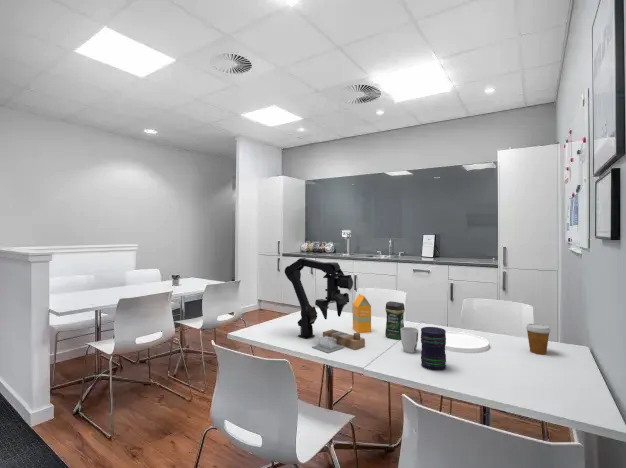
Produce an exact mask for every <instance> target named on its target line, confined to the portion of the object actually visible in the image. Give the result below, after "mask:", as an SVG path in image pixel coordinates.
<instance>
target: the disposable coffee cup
mask: <svg viewBox="0 0 626 468" xmlns="http://www.w3.org/2000/svg"><path fill="white" fill-rule="evenodd" d="M525 329H526V333H527V338H528V339H527V340H528V346H529V347H528V348H529V352H531V353H532V354H535V355H547V350H548V344H549V336H550V333H551V329H550V326H548V325H546V324H541V323H527V324H526V326H525Z"/></svg>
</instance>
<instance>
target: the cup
mask: <svg viewBox="0 0 626 468" xmlns="http://www.w3.org/2000/svg"><path fill="white" fill-rule="evenodd" d="M400 330H401V339H400V340H401V346H402V348H403V351H404V352H405V353H408V354H409V353H410V354H413V353H416V350H417V347H418V342H419V329H418V328H416V327H411V326H406V327H405V326H404V327H403V328H401V329H400Z"/></svg>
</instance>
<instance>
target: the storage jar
mask: <svg viewBox="0 0 626 468" xmlns="http://www.w3.org/2000/svg"><path fill="white" fill-rule="evenodd" d="M446 331H447V330H446V329H444V328H441V327H436V326H424V327H421V328H420V342H421V351H420V360H421V363H420V365H421V367H422V368H423V369H426V370H429V371H432V372H433V371H435V372H439V371H445V370H446V368H447V365H446V363H447V353H446V350H445V345H446V334H445V333H446Z"/></svg>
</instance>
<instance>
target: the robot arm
mask: <svg viewBox="0 0 626 468" xmlns="http://www.w3.org/2000/svg"><path fill="white" fill-rule="evenodd" d="M304 267H306V268H310V269H311V268H312V269H316V270H320V271H321V272H322V273H325V274H324V275H323V277H322V278H323V279H326V288H325V289H324V290H325V292H326V296H324V297H325V299H324V298H317V299H316V300H315V302H314V304H315V306H317V307H318V308H319V310H320V312H321V313H322V317H323V318H324V320H327V319H328V309H329V307H330V306H329V304H333V303H335V305H336V306H335V307H336V312H337V316H338V317H341V316H342V313H343V309H344V308H345V306H346V305H348V303H350V298H349V296H350V295H349V293H348V292H345V293H341V289H347V290H351V289H353V287H354V280H353V278H352V275H351V274H345V273H344V272H343V270H342V269H341V266H340V264H339V263H338V262H336V261H333V262H332V261H328V262H324V261H320V260H315V259H309V258H305V257H301V258H298V259H297V260H296V261H294V262H293V263H291V264H290V265H287V266H286V267H285V268H284V274H285V277H286V278H287V280H289V282H290V283H291V284H292V286H293V289H294V293H295V295H296V298H297V300H298V304H299V305H300V315H301V316H300V317H301V318H300V319H298V321H297V326H299V329H300V334H298V335H297V336H298V337H299V338H302V339H305V340H306V339H310V338H313V337H315V336H316V335H315V334H314V327H313V324H314V325H315V323H316V321H317V319H318V312H317V309H316V307H315V306H312V304H310V302H309V298H308V296H307V294H306V291H305V288H304V286H303V283H302V280H301V277H302V273H301V271H302V270H303V269H304Z"/></svg>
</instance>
